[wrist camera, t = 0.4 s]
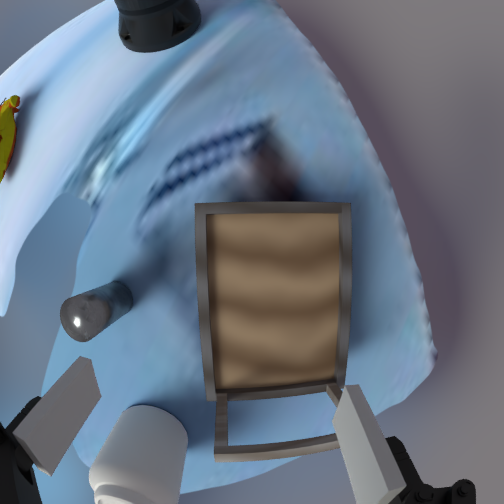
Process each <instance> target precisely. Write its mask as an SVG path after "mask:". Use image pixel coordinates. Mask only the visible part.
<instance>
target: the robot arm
mask: <svg viewBox="0 0 504 504" xmlns="http://www.w3.org/2000/svg"><path fill="white" fill-rule="evenodd" d="M114 1H115V3H116V5H117V8H118V10H119V36H120V39H121V40H122V42H123V44H124V46H125V47H126V48H128V49H130V50H132V51H135V52H143V53H146V52H156V51H161V50H164V49H167V48H170V47H173V46H175V45H177V44H179V43H181V42H183V41H184V40H186V39H187V38H189V37H190V36H191V35H192V34H193V33H194V32H195V31H196V30H197V29H198V27H199V25H200V22H201V13H200V8H199V6H198V4H197V3H196V1H195V0H114ZM100 398H101V394H100V390H99V387H98V384H97V380H96V377H95V373H94V369H93V365H92V361H91V359H88V358H84V357H81V356H80V357H79V358H78V359H77V360H76V361H75V362H74V363H73V364H72V365H71V366H70V367H69V368H68V370H67V371H66V372H65V373H64V374H63V375H62V376H61V377H60V378H59V379H58V380H57V382H56V383H55V384H54V385H53V386H52V387H51V388H50V389H49V390H48V392H47V393H46V394H45V395H44V396H43V397H42V398H41V397H39V396H37V397H35V398H33V399H32V400H31V401H29V402H28V403H27V404H26V406H25V408H23V409H22V410H21V413H19V414H18V415H17V416H16V417H15V418H14V419H13V420H12V422H11V423H10V424H9V425H8V426H7V427H6V429H4V427H3V426H2V424H1V422H0V504H42V501H41V498H40V494H39V490H38V486H37V483H36V478H35V474H34V470H33V468H32V465H33V463H34V464H35V465H36V466H37V468H38V469H39V470H41V471H42V472H44V473H46V474H48V475H50V476H52V474H53V473H54V471H55V469H56V467H57V466H58V464H59V463H60V461H61V459H62V458H63V456H64V454H65V453H66V451H67V449H68V448H69V446H70V445H71V443H72V441H73V440H74V438H75V437H76V435H77V433H78V432H79V430H80V429H81V427H82V426H83V424H84V422H85V421H86V419H87V418H88V416H89V415H90V413H91V412H92V410H93V409H94V407H95V406H96V404H97V403H98V401H99V400H100ZM332 422H333V426H334V429H335V432H336V435H337V438H338V442H339V445H340V448H341V451H342V454H343V458H344V461H345V465H346V468H347V471H348V475H349V478H350V482H351V485H352V489H353V492H354V496H355V499H356V503H357V504H476V489H475V485H474V484H473V483H472V482H471V481H470V480H467V479H462V480H459V481H457V482H456V483H455V484H454V485H453V486H452V487H444V488H433V487H432V486H430V485H428V484H424V483H423V482H422V481H421V479H420V477H419V475H418V473H417V471H416V469H415V467H414V465H413V463H412V461H411V459H410V457H409V455H408V453H407V452H406V449H405V447H404V445H403V443H402V442H401V441H400V440H399V439H398V438H396V437H395V436H393V437H388V438H385V437H384V435H383V433H382V431H381V429H380V427H379V425H378V423H377V421H376V419H375V416H374V414H373V412H372V410H371V408H370V406H369V404H368V402H367V400H366V398H365V396H364V394H363V392H362V390H361V388H360V386H359V385H345V387H344V390H343V393H342V396H341V399H340V401H339V404H338V407H337V410H336V412H335V415H334V418H333V420H332Z"/></svg>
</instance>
